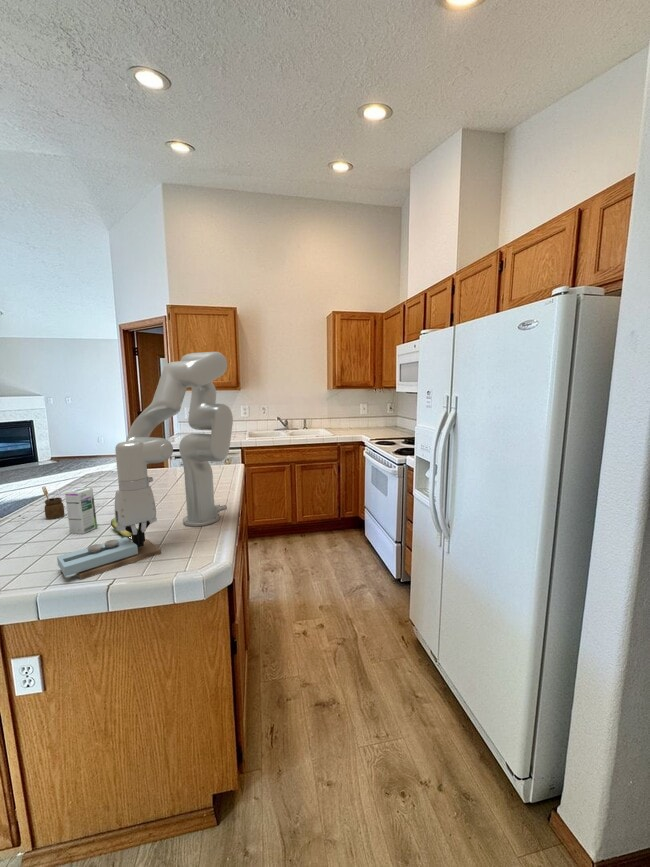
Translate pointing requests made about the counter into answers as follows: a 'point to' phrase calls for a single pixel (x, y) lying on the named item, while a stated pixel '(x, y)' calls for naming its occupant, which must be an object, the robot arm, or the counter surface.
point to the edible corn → (124, 533)
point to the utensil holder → (53, 506)
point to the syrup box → (81, 510)
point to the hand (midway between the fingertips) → (139, 545)
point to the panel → (95, 557)
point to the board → (143, 553)
